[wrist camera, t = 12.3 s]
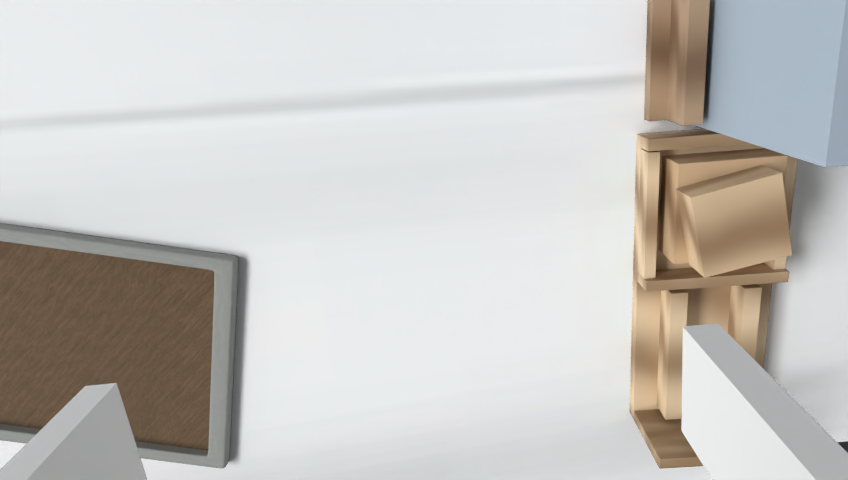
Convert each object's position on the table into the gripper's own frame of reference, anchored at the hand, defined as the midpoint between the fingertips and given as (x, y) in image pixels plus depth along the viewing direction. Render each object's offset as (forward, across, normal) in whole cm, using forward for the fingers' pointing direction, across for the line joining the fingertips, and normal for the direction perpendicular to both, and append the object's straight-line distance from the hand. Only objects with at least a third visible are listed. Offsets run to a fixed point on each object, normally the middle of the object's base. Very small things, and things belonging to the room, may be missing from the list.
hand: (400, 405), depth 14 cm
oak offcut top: (+27, +20, -6) cm, 34 cm away
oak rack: (+31, +20, -12) cm, 39 cm away
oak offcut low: (+30, +20, -5) cm, 37 cm away
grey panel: (+30, +20, +5) cm, 37 cm away
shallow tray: (+32, -32, -11) cm, 47 cm away
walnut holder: (+31, +20, +5) cm, 38 cm away
